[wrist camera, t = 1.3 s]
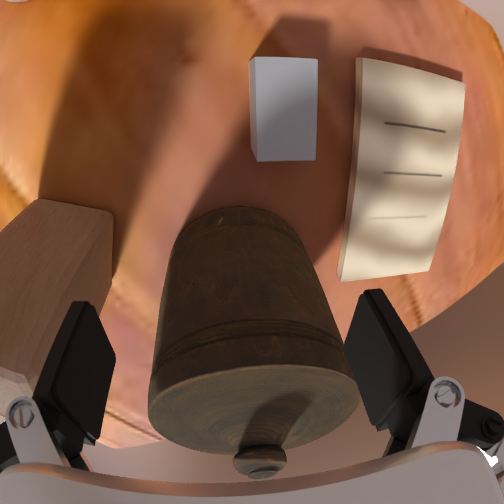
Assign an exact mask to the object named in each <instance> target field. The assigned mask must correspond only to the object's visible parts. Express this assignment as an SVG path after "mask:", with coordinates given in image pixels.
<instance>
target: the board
mask: <svg viewBox="0 0 504 504" xmlns="http://www.w3.org/2000/svg"><path fill="white" fill-rule="evenodd" d="M464 98H465V84H464V83H462V82H459V81H456V80H453V79H450V78H447V77H444V76H440V75H437V74H434V73H430V72H427V71H423V70H419V69H416V68H412V67H408V66H404V65H399V64H395V63H390V62H385V61H380V60H375V59H370V58H364V57H361V58H356V82H355V111H354V129H353V144H352V157H351V168H350V179H349V188H348V197H347V206H346V214H345V222H344V229H343V236H342V243H341V250H340V256H339V262H338V268H337V276H338V278H339V280H340V282H344V281H353V280H362V279H370V278H378V277H386V276H394V275H402V274H409V273H417V272H424V271H429V268H430V265H431V262H432V259H433V256H434V252H435V249H436V246H437V243H438V239H439V236H440V232H441V229H442V225H443V221H444V218H445V214H446V210H447V206H448V202H449V197H450V193H451V188H452V184H453V179H454V174H455V168H456V163H457V157H458V151H459V144H460V137H461V129H462V121H463V111H464Z"/></svg>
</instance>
